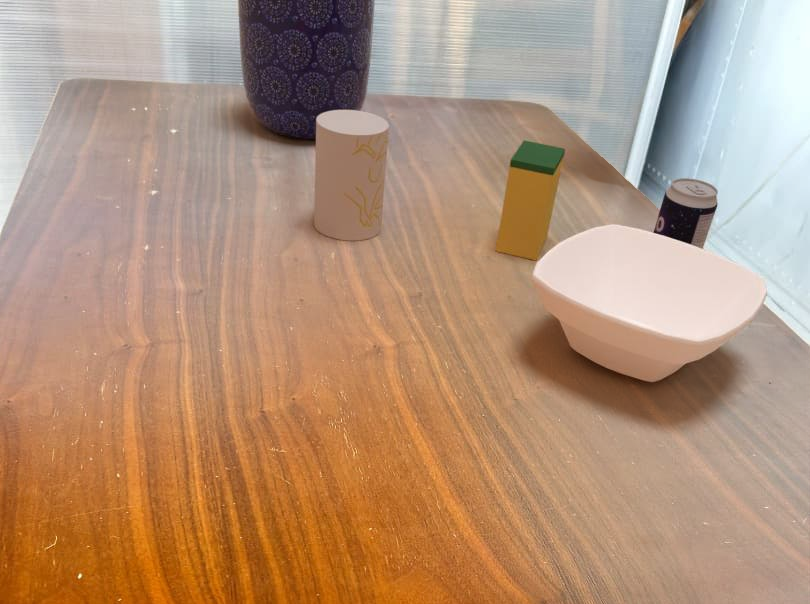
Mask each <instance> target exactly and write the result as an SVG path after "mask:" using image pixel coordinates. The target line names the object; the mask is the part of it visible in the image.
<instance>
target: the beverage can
mask: <svg viewBox="0 0 810 604" xmlns="http://www.w3.org/2000/svg"><path fill="white" fill-rule="evenodd" d="M718 194H719V190H718V189H717V187H716V186H715V185H713V184H711V183H709V182H707V181H704V180H700V179H696V178H691V177H690V178H689V177H681V178H676V179H674V180H672V182H671V185H670V186H669V188H668V189H667V190H666V191H665V193H664V195H663V199H662V202H661V204H660V209H659V211H658V214H657V219H656V223H655V226H654V229H653V232H652V233H656V234H659V235H663V236H666V237H669V238H672V239H675V240H678V241H681V242H684V243H687V244H690V245H694V246H696V247H699V248H701V249H704V247H705V243H706V240H707V237H708V235H709V233H710V232H709V231H710V229H711V226H712V223H713V220H714V216H715V214H716V212H717V208H718V205H719V204H718V203H719V202H718V197H717V195H718Z"/></svg>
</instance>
